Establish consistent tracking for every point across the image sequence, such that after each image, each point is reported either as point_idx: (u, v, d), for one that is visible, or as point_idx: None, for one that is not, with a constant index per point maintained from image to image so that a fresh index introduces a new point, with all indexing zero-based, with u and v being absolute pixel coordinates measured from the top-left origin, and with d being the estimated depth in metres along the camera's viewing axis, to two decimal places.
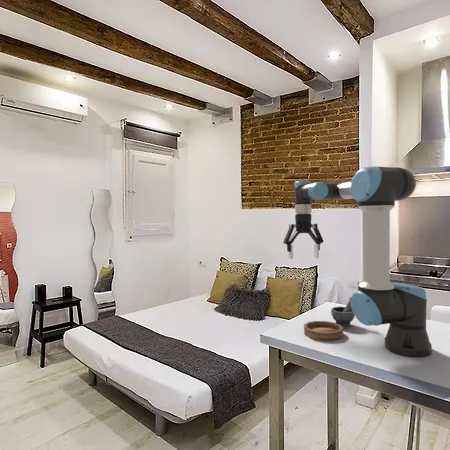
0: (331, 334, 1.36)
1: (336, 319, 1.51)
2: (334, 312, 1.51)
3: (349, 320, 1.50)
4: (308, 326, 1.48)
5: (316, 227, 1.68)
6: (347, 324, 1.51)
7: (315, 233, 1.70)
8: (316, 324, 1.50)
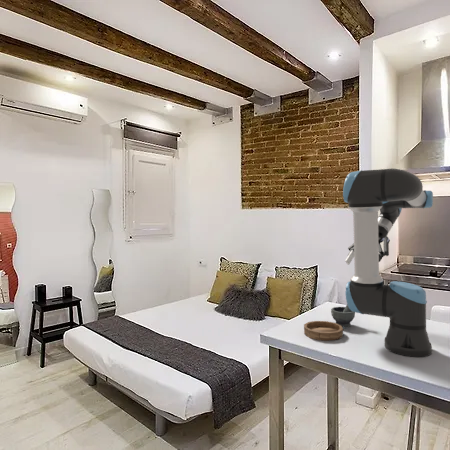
0: (331, 334, 1.36)
1: (336, 319, 1.51)
2: (334, 312, 1.51)
3: (349, 320, 1.50)
4: (308, 326, 1.48)
5: (385, 239, 1.57)
6: (347, 324, 1.51)
7: None
8: (316, 324, 1.50)
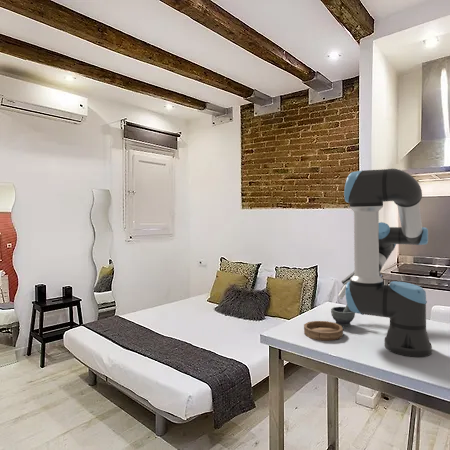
0: (331, 334, 1.36)
1: (336, 319, 1.51)
2: (334, 312, 1.51)
3: (349, 320, 1.50)
4: (308, 326, 1.48)
5: None
6: (347, 324, 1.51)
7: None
8: (316, 324, 1.50)
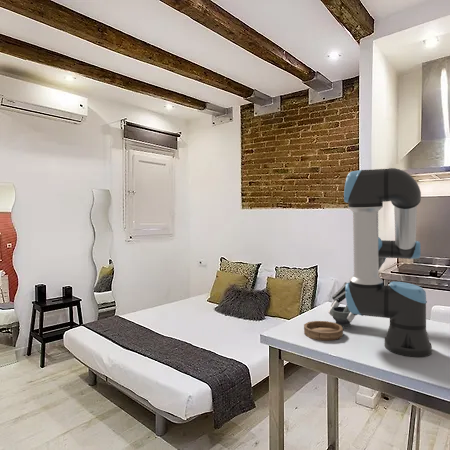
0: (331, 334, 1.36)
1: (336, 319, 1.51)
2: (334, 312, 1.51)
3: None
4: (308, 326, 1.48)
5: None
6: (347, 324, 1.51)
7: None
8: (316, 324, 1.50)
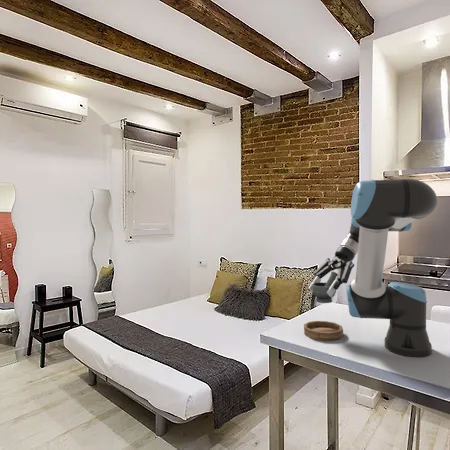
0: (331, 334, 1.36)
1: (316, 294, 1.42)
2: (314, 287, 1.42)
3: None
4: (308, 326, 1.48)
5: (348, 264, 1.42)
6: (328, 299, 1.42)
7: None
8: (316, 324, 1.50)
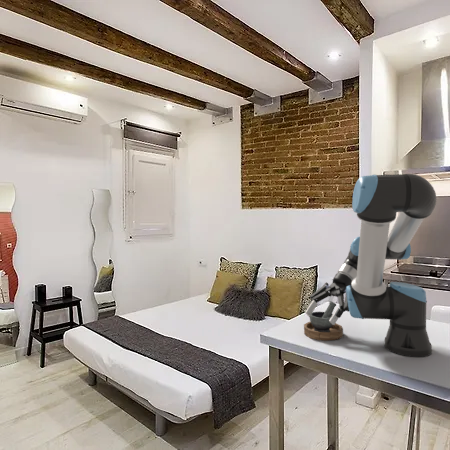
0: (331, 334, 1.36)
1: (314, 325, 1.41)
2: (312, 317, 1.41)
3: (328, 326, 1.39)
4: (308, 326, 1.48)
5: None
6: (326, 330, 1.40)
7: None
8: None
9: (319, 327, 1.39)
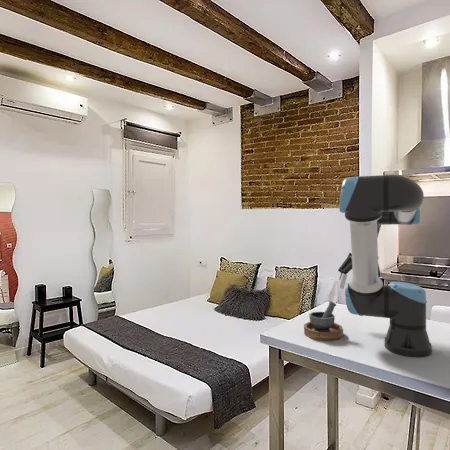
0: (331, 334, 1.36)
1: (314, 325, 1.41)
2: (312, 318, 1.41)
3: (328, 326, 1.39)
4: (308, 326, 1.48)
5: None
6: (326, 331, 1.40)
7: None
8: None
9: (319, 327, 1.39)
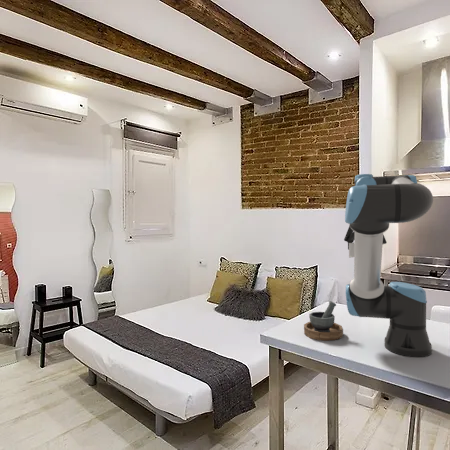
0: (331, 334, 1.36)
1: (314, 325, 1.41)
2: (312, 318, 1.41)
3: (328, 326, 1.39)
4: (308, 326, 1.48)
5: None
6: (326, 331, 1.40)
7: None
8: None
9: (319, 327, 1.39)
